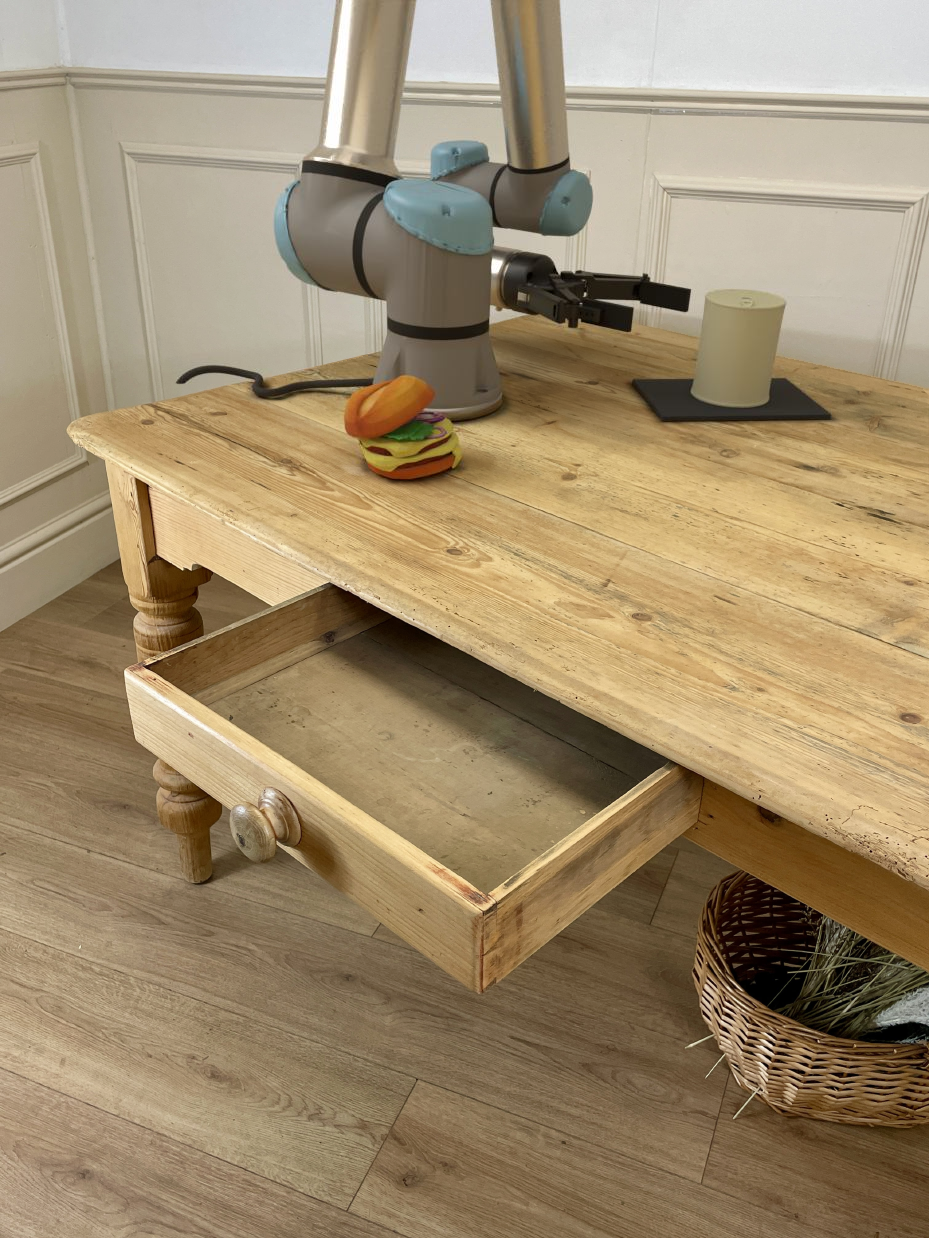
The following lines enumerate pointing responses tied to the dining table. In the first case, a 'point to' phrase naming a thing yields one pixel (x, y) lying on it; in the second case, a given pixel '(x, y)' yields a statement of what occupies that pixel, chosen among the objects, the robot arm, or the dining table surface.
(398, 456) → the cheeseburger
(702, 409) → the placemat
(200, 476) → the dining table surface
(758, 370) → the can
